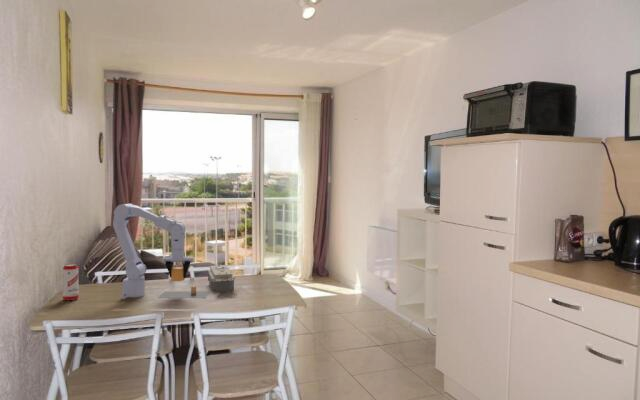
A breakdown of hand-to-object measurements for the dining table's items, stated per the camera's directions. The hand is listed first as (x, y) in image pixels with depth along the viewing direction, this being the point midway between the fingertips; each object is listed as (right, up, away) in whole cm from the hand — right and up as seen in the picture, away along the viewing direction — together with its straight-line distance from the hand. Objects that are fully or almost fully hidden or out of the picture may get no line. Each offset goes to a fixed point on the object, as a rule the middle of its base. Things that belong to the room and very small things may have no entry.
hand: (178, 277), depth 210 cm
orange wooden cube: (0, -1, 0) cm, 1 cm away
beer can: (-47, -9, -6) cm, 48 cm away
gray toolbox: (+16, -9, +20) cm, 27 cm away
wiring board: (+3, -10, +2) cm, 10 cm away
